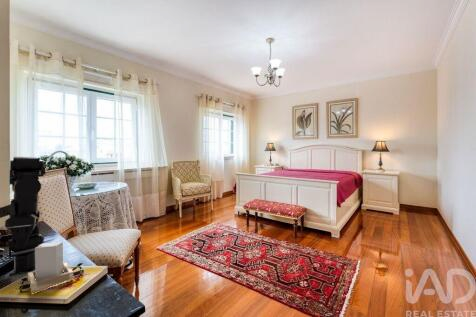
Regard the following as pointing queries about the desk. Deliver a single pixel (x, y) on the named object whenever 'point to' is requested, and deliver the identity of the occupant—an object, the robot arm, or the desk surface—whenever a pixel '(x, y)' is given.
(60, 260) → the skincare box
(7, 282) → the desk surface
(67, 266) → the socket holder
